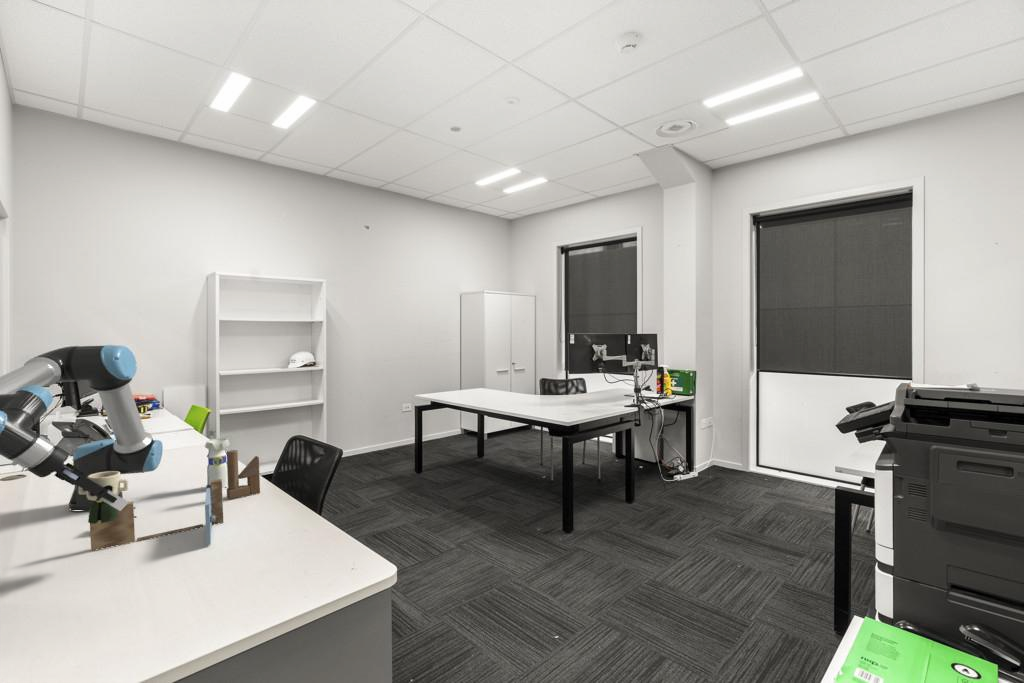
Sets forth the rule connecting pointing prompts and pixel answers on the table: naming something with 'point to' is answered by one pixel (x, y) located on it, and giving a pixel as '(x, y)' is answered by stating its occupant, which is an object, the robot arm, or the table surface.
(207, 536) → the door
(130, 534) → the door frame
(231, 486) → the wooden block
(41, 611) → the table surface
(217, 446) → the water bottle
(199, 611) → the table surface
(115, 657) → the table surface
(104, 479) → the character mug
